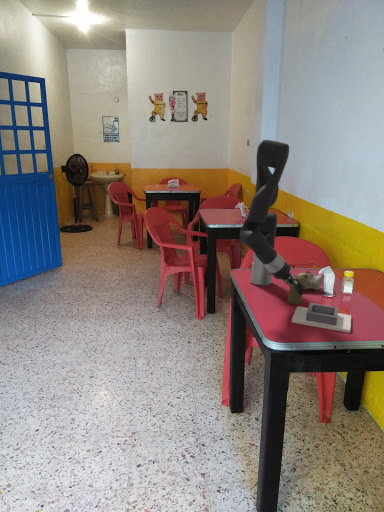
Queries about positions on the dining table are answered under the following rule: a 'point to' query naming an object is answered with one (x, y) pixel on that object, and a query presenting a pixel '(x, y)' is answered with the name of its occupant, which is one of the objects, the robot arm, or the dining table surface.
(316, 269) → the dining table surface
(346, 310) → the dining table surface
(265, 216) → the robot arm
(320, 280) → the ceramic sculpture
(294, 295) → the cork
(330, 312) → the board
